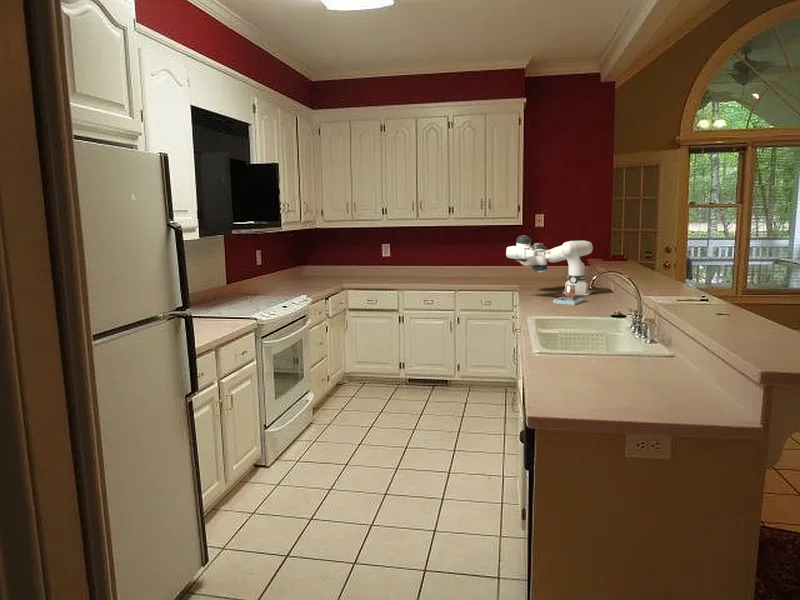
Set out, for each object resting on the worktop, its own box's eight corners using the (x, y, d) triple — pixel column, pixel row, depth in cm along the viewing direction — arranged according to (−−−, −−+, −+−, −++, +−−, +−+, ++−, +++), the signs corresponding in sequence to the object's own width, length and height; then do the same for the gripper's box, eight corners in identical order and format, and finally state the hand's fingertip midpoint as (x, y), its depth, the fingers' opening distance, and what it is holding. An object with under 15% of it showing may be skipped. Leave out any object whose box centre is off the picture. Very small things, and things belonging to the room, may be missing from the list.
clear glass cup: (567, 300, 382) (567, 284, 380) (576, 301, 378) (576, 284, 377) (563, 301, 377) (564, 285, 376) (572, 302, 374) (573, 286, 372)
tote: (562, 301, 386) (562, 296, 386) (583, 302, 378) (583, 298, 377) (553, 304, 373) (553, 299, 373) (574, 306, 365) (574, 301, 365)
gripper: (534, 256, 402) (553, 257, 394) (521, 258, 386) (541, 258, 378) (534, 247, 401) (553, 247, 393) (521, 248, 385) (541, 249, 377)
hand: (547, 253), depth 385 cm, fingers open, 8 cm apart
